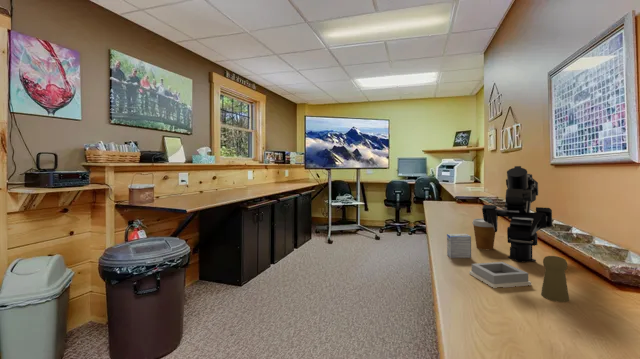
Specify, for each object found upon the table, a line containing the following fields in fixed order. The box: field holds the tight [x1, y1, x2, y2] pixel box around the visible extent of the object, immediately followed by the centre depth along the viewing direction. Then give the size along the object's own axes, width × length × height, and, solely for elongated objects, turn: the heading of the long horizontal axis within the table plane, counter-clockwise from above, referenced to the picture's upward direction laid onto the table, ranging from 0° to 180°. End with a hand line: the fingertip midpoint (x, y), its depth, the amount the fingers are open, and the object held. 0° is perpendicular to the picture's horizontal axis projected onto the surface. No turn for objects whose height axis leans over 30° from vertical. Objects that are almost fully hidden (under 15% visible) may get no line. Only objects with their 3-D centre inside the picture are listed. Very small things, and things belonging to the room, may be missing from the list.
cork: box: [540, 255, 570, 303], centre depth 81 cm, size 6×6×11 cm
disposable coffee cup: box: [471, 218, 496, 251], centre depth 129 cm, size 10×10×12 cm
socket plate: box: [468, 261, 532, 289], centre depth 95 cm, size 12×12×4 cm
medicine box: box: [446, 233, 472, 259], centre depth 119 cm, size 8×4×9 cm, turn 84°
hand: (512, 232), depth 92 cm, fingers open, 9 cm apart
